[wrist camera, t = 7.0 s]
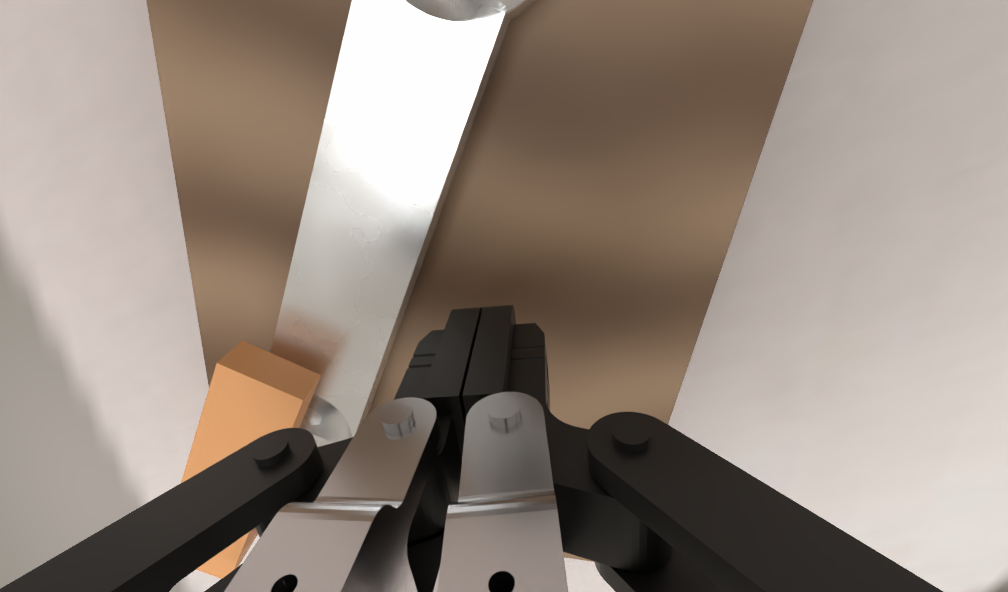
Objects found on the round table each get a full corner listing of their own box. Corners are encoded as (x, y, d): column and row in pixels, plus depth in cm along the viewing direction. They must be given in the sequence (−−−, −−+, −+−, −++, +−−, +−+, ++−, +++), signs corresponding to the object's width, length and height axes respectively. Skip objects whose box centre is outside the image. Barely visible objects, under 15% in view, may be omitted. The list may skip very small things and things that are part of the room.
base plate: (145, -282, 12) (-107, -513, 7) (847, -185, 12) (1049, -355, 7) (247, 482, 22) (173, 587, 18) (614, 535, 22) (634, 654, 17)
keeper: (288, 298, 16) (216, 362, 13) (354, 329, 17) (303, 400, 13) (229, 467, 20) (159, 555, 16) (284, 489, 20) (228, 581, 16)
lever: (413, -239, 10) (386, -306, 9) (597, -144, 11) (610, -188, 9) (261, 406, 18) (230, 443, 16) (373, 445, 18) (355, 486, 17)
